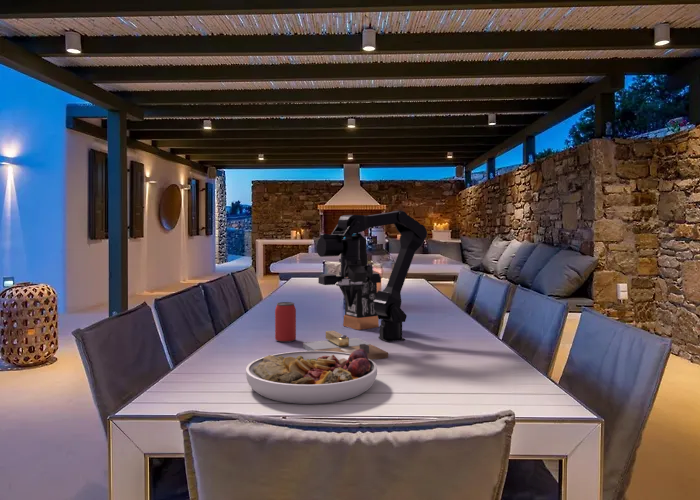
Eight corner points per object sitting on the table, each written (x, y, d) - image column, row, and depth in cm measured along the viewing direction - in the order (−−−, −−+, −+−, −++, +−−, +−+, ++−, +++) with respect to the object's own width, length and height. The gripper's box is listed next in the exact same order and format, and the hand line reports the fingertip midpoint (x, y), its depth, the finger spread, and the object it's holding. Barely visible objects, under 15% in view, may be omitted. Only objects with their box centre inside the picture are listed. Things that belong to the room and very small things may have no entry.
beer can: (292, 343, 168) (292, 305, 167) (272, 342, 169) (272, 304, 169) (298, 338, 174) (298, 302, 174) (279, 337, 176) (279, 301, 175)
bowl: (265, 417, 104) (264, 377, 103) (234, 377, 131) (233, 345, 131) (400, 398, 116) (400, 362, 115) (346, 364, 143) (346, 335, 143)
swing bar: (350, 346, 155) (350, 336, 155) (340, 347, 154) (340, 337, 154) (334, 337, 166) (334, 328, 166) (325, 338, 165) (325, 329, 165)
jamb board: (357, 342, 169) (357, 337, 169) (373, 350, 158) (373, 345, 158) (303, 347, 162) (302, 341, 162) (316, 356, 151) (316, 350, 151)
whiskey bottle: (380, 327, 194) (380, 239, 192) (358, 330, 188) (358, 239, 187) (363, 322, 202) (363, 238, 201) (341, 325, 197) (342, 238, 195)
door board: (371, 349, 159) (371, 338, 159) (388, 357, 149) (388, 345, 149) (314, 355, 152) (314, 343, 152) (327, 364, 142) (327, 351, 142)
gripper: (331, 258, 152) (330, 312, 153) (389, 256, 160) (389, 308, 160) (317, 256, 163) (317, 307, 163) (373, 254, 170) (373, 303, 171)
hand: (349, 306), depth 164 cm, fingers closed
